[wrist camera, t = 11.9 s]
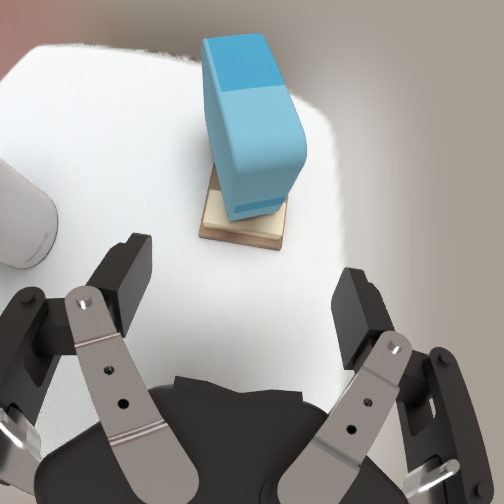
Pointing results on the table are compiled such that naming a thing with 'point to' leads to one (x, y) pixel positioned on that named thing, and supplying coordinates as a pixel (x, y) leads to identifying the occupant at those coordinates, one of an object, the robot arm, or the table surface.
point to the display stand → (240, 222)
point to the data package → (250, 125)
